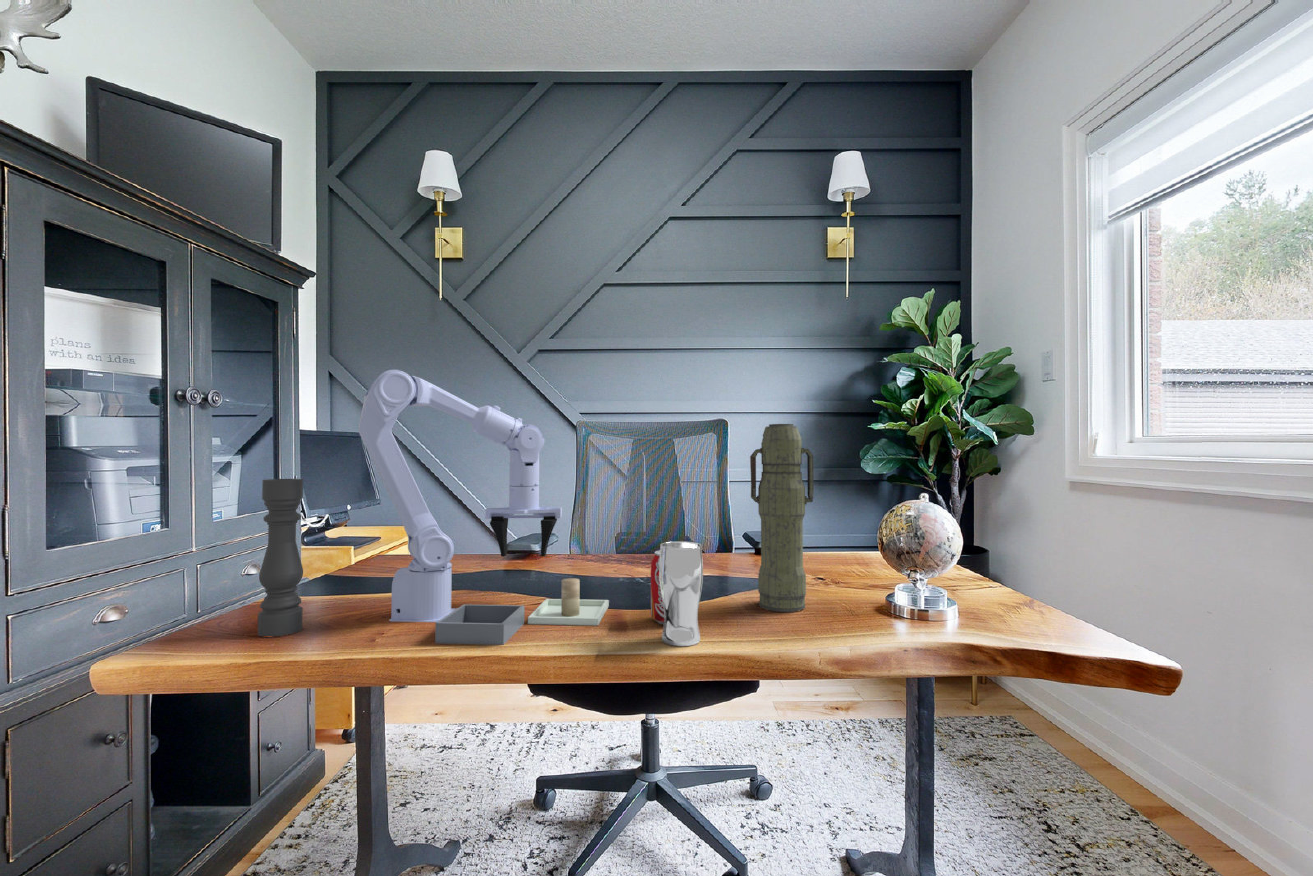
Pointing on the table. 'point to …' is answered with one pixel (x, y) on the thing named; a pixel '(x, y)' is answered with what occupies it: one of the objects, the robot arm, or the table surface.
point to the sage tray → (588, 615)
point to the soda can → (656, 591)
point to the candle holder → (281, 559)
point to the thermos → (781, 517)
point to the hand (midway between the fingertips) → (523, 555)
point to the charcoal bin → (480, 624)
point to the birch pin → (570, 597)
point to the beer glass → (680, 591)
